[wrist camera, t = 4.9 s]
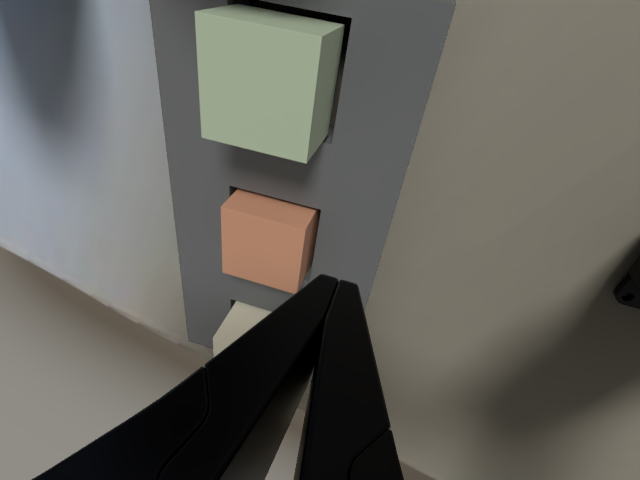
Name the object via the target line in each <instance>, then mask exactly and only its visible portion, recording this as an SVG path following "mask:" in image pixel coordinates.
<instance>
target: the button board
mask: <svg viewBox="0 0 640 480" xmlns="http://www.w3.org/2000/svg"><path fill="white" fill-rule="evenodd" d="M261 1H266V2H271V3H276V4H281V5H287V6H292V7H297V8H302V9H307V10H313V11H318V12H323V13H328V14H333V15H339V16H344V17H349V18H352V21H351V27H350V33H349V40H348V46H347V52H346V58H345V64H344V71H343V77H342V83H341V89H340V96H339V102H338V108H337V114H336V120H335V127H334V128H331V127H329V133H328V135H327V136H326V138H325V139H324V140H323V142H322V143H321V144H320V146H319V147H318V149H317V150H316V151H315V153H314V154H313V155H312V157H311V158H310V160H309V161H308V162H307V164H306V163H302V162H298V161H294V160H290V159H286V158H281V157H277V156H273V155H269V154H265V153H261V152H257V151H253V150H249V149H245V148H241V147H237V146H233V145H229V144H225V143H221V142H217V141H213V140H209V139H205V138H202V136H201V118H200V100H199V82H198V64H197V46H196V28H195V11H198V10H204V9H210V8H216V7H222V6H228V5H234V4H243V5H248V0H149V3H150V11H151V20H152V29H153V37H154V46H155V54H156V63H157V72H158V80H159V89H160V98H161V106H162V115H163V123H164V132H165V141H166V149H167V158H168V167H169V175H170V184H171V192H172V201H173V210H174V218H175V227H176V236H177V244H178V253H179V262H180V270H181V279H182V287H183V296H184V305H185V313H186V322H187V331H188V339H189V341H191V342H194V343H197V344H200V345H203V346H206V347H209V348H212V349H213V337H214V335H215V334H216V332H217V331H218V329H219V327H220V326H221V324H222V323H223V321H224V320H225V318H226V317H227V315H228V313H229V312H230V310H231V309H232V307H233V306H234V304H235V302H236V301H239V302H242V303H245V304H248V305H252V306H255V307H258V308H261V309H265V310H268V311H271V312H272V311H274V310H275V309H276V308H277V307H279V306H280V305H281V304H282V303H284V302H285V301H286V300H288V299H289V298H290V297H291V296H293V295H294V294H293V293H290V292H286V291H283V290H280V289H276V288H273V287H270V286H266V285H263V284H260V283H256V282H253V281H250V280H246V279H243V278H239V277H236V276H233V275H229V274H226V273H223V272H222V236H221V206H222V205H223V204H224V203H225V202H226V201H227V199H228V198H229V197H230V196H231V195H232V194H233V193H234V192H235V191H236V190H237V189H238V188H241V189H244V190H248V191H252V192H256V193H259V194H263V195H267V196H271V197H275V198H278V199H282V200H286V201H290V202H293V203H297V204H301V205H305V206H308V207H312V208H316V209H320V210H321V213H320V220H319V226H318V232H317V238H316V244H315V251H314V257H313V261H312V263H311V265H310V267H309V269H308V271H307V274H306V276H305V278H304V280H303V282H302V284H301V286H300V289H302V288H303V287H304V286H305V285H307V284H308V283H309V282H311V281H312V280H313V279H314V278H316V277H317V276H318V275H320V274H325V275H328V276H332V277H335V278H337V279H338V282H339V281H340V280H346V281H349V282H353V283H356V284H357V285H358V287H359V291H360V295H361V299H362V304H363V308H364V310H365V307H366V304H367V300H368V297H369V294H370V290H371V287H372V284H373V280H374V277H375V274H376V270H377V267H378V263H379V260H380V257H381V253H382V250H383V247H384V243H385V240H386V237H387V233H388V230H389V227H390V223H391V220H392V217H393V213H394V210H395V207H396V203H397V200H398V197H399V193H400V190H401V187H402V183H403V180H404V177H405V173H406V170H407V167H408V163H409V160H410V156H411V153H412V150H413V146H414V143H415V140H416V136H417V133H418V130H419V126H420V123H421V120H422V116H423V113H424V110H425V106H426V103H427V100H428V96H429V93H430V90H431V86H432V83H433V80H434V76H435V73H436V70H437V66H438V63H439V59H440V56H441V53H442V49H443V46H444V43H445V39H446V36H447V33H448V29H449V26H450V23H451V19H452V16H453V13H454V9H455V6H456V1H455V0H261ZM300 289H299V290H300ZM312 375H313V373H312ZM312 375H311V378H310V380H309V381H311V380H312Z"/></svg>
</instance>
